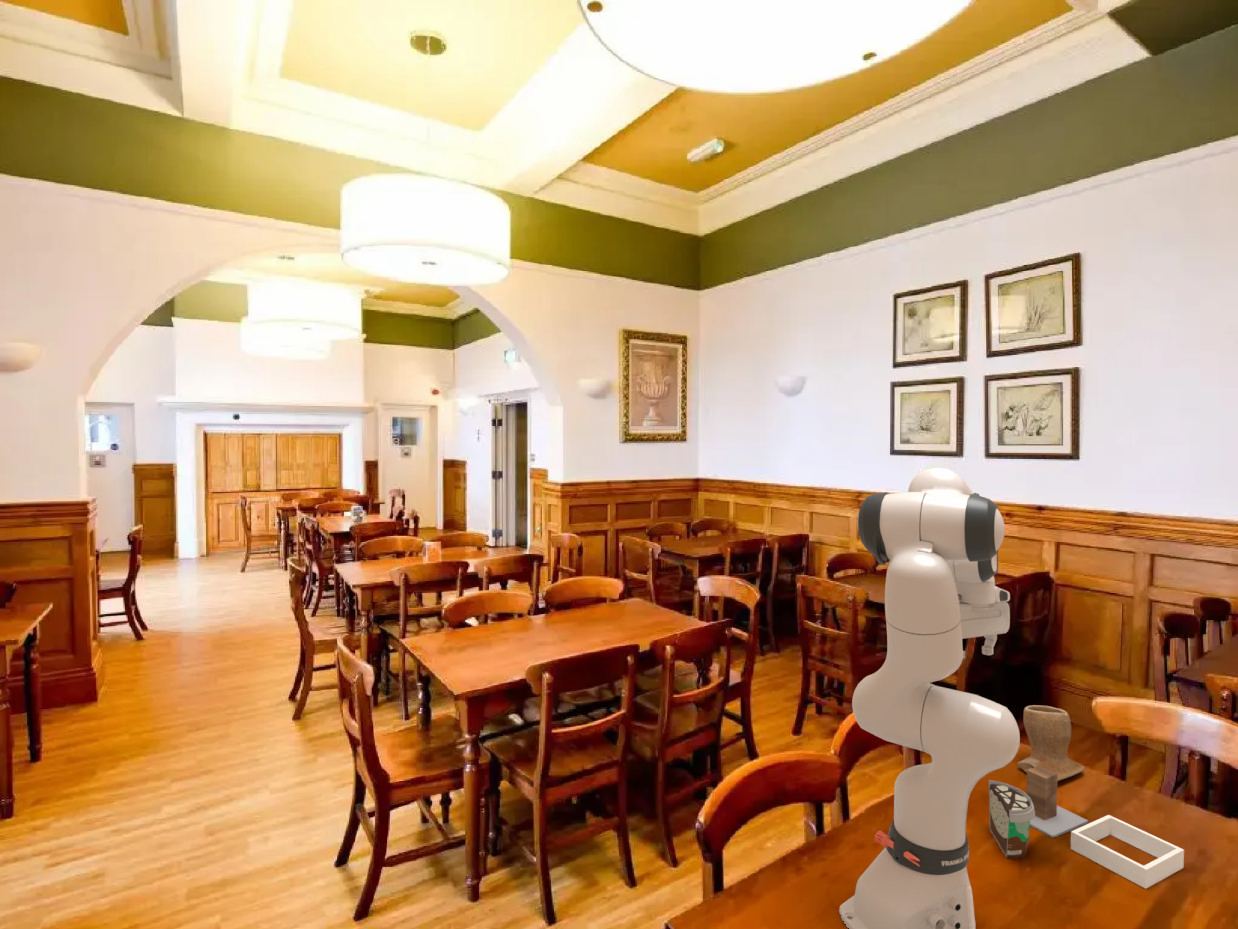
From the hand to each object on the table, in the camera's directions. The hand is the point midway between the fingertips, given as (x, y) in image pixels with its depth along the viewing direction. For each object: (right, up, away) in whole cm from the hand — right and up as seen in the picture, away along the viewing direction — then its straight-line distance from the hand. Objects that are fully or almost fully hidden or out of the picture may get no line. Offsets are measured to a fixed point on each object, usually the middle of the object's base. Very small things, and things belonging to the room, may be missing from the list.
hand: (973, 656), depth 147 cm
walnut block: (+12, -32, -5) cm, 34 cm away
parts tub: (+19, -33, -19) cm, 43 cm away
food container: (0, -33, -15) cm, 36 cm away
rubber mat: (+12, -32, -5) cm, 35 cm away
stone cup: (+25, -32, +14) cm, 42 cm away
